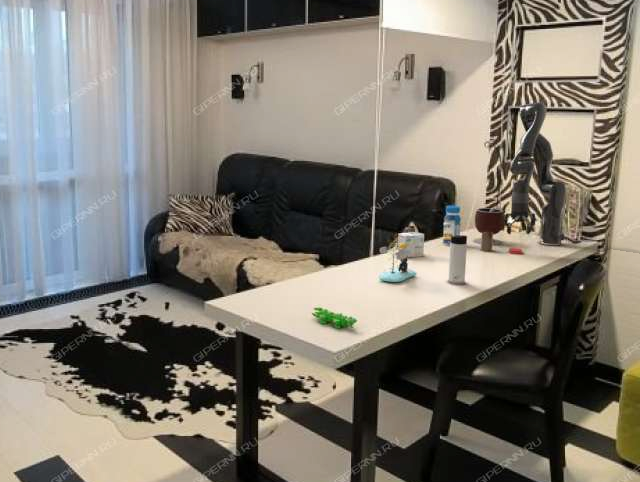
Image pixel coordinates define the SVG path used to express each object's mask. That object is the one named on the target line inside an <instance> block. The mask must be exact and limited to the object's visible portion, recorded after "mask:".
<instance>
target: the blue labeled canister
mask: <svg viewBox="0 0 640 482" xmlns="http://www.w3.org/2000/svg"><path fill="white" fill-rule="evenodd" d="M460 211H461V207H460V206H459V205H446V206H445V213H446V214H445V216H444V217H443V221H444V222H443V236H442V237H443V238H442V244H443V245H445V246H449V247H450V244H451V243H450V242H451V236H457V235H461V226H462V225H461V221H462V219H461V216H460Z"/></svg>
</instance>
